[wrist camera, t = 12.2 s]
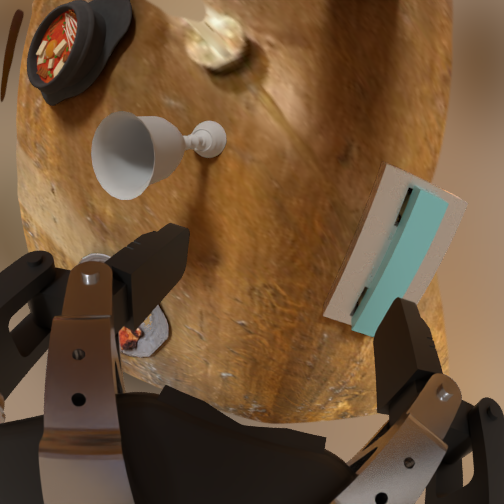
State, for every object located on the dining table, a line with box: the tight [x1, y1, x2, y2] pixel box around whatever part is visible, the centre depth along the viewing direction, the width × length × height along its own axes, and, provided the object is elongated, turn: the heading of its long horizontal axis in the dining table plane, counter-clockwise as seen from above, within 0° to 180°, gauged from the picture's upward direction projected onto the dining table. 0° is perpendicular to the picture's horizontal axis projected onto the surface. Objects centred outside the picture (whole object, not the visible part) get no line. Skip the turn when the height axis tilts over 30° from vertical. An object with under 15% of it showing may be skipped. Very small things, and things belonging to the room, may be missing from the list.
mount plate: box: [323, 161, 468, 325], centre depth 34 cm, size 22×12×3 cm, turn 166°
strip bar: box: [351, 185, 449, 337], centre depth 33 cm, size 20×4×5 cm, turn 166°
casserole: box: [27, 0, 132, 106], centre depth 29 cm, size 25×19×8 cm
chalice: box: [91, 111, 226, 200], centre depth 28 cm, size 7×7×18 cm
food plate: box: [79, 253, 169, 357], centre depth 53 cm, size 25×23×4 cm
